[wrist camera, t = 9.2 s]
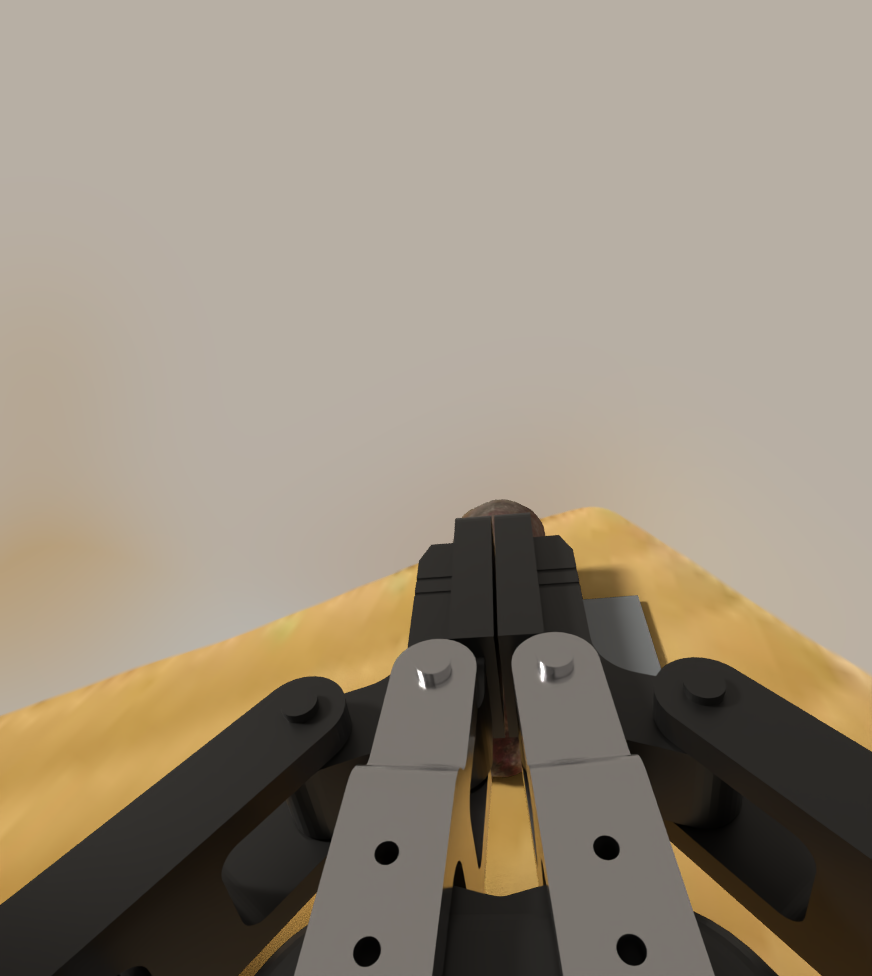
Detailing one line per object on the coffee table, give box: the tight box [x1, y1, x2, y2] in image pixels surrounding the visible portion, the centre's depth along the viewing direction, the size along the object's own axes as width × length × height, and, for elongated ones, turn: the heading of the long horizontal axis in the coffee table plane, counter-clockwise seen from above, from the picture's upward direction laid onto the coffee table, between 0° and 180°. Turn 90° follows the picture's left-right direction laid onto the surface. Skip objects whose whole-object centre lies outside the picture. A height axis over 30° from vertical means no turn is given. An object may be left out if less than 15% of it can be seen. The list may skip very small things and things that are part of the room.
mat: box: [583, 595, 661, 676], centre depth 45 cm, size 11×14×1 cm
